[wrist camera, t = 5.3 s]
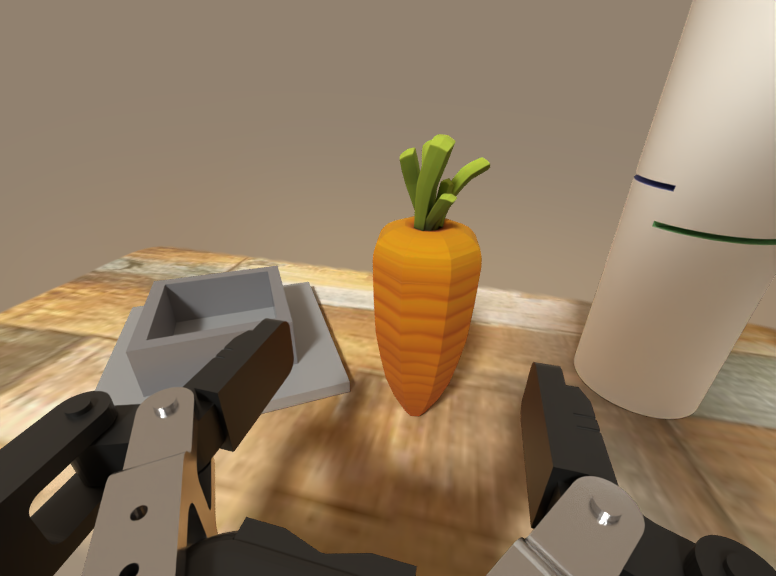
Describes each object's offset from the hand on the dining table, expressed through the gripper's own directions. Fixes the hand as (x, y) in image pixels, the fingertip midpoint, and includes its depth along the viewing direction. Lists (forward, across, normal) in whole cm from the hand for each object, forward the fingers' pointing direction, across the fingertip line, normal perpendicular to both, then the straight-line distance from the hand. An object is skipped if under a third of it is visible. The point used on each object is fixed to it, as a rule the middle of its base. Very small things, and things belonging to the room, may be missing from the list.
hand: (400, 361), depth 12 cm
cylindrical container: (+13, -13, +9) cm, 20 cm away
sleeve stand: (+8, +14, +8) cm, 18 cm away
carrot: (+6, 0, +9) cm, 10 cm away
